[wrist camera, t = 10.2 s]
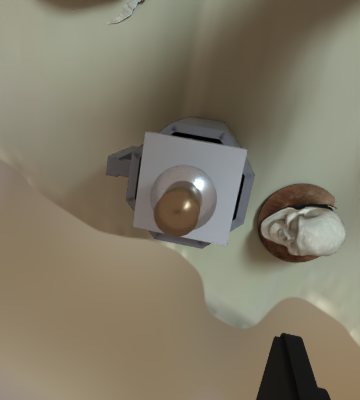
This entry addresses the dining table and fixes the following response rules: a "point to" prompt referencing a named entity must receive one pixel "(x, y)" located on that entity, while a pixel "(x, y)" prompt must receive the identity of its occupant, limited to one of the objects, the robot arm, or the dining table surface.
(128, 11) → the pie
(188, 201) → the plunger
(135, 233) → the dining table surface
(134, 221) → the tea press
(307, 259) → the skull
